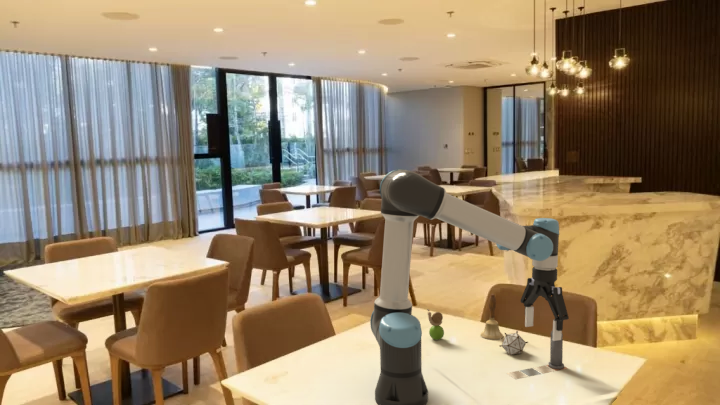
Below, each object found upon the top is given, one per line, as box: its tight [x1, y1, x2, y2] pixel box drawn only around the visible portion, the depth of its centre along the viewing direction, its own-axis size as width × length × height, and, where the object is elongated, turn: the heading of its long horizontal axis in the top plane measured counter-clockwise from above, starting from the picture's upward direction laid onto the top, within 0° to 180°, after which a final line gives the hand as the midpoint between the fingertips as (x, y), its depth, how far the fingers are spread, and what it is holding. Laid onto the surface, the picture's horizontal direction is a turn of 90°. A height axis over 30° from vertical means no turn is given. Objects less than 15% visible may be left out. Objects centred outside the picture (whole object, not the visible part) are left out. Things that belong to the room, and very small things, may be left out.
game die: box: [499, 330, 529, 356], centre depth 183 cm, size 9×8×10 cm
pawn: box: [548, 330, 565, 370], centre depth 170 cm, size 5×5×12 cm
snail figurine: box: [427, 309, 445, 341], centre depth 199 cm, size 5×6×12 cm
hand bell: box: [480, 293, 504, 341], centre depth 201 cm, size 8×8×16 cm
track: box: [506, 364, 568, 380], centre depth 168 cm, size 21×7×1 cm, turn 110°
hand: (542, 332), depth 172 cm, fingers open, 13 cm apart
